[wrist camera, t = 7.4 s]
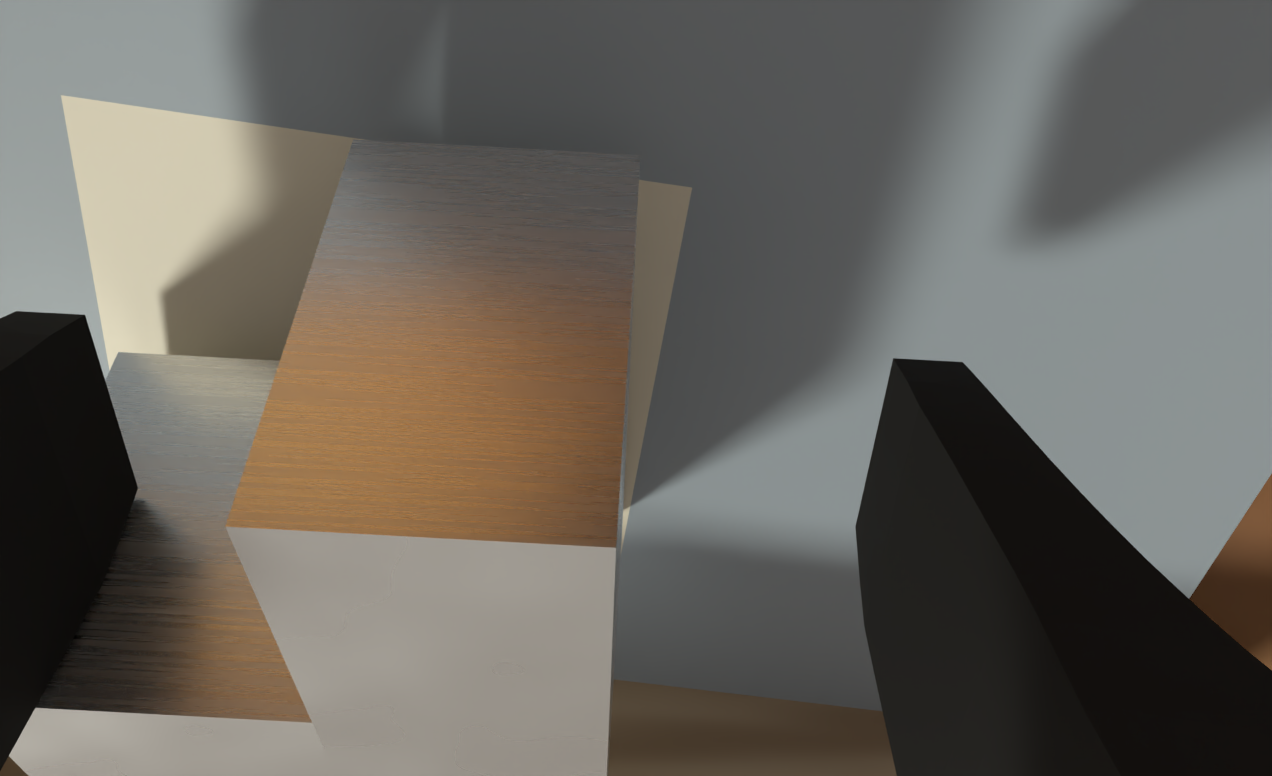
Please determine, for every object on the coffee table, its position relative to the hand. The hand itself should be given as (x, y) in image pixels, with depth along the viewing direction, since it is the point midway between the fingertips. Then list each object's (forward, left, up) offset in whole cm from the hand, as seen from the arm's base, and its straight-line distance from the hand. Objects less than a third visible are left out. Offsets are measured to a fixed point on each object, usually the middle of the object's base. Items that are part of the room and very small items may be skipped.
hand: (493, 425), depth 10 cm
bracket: (+1, -1, -2) cm, 2 cm away
